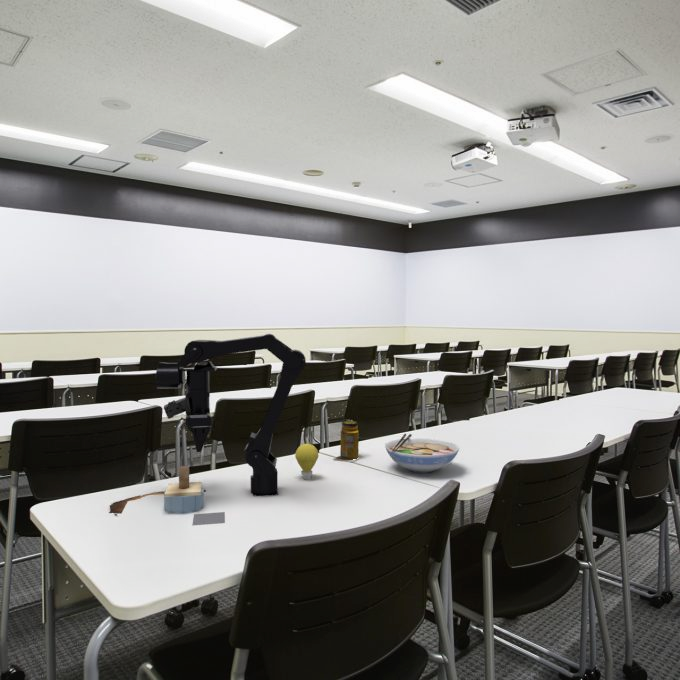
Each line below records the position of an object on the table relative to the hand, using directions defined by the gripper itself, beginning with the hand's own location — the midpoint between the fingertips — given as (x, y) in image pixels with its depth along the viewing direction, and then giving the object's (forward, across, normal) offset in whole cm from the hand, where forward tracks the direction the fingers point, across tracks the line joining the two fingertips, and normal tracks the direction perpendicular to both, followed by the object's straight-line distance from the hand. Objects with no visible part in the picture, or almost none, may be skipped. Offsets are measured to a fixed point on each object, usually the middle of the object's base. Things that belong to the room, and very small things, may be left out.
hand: (198, 447), depth 141 cm
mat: (+12, +20, +2) cm, 23 cm away
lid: (+8, +10, -4) cm, 13 cm away
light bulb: (+13, -8, +30) cm, 34 cm away
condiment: (+13, -27, +48) cm, 57 cm away
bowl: (+12, +10, -4) cm, 17 cm away
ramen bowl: (+13, -8, +66) cm, 68 cm away
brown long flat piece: (+13, +2, -10) cm, 16 cm away
